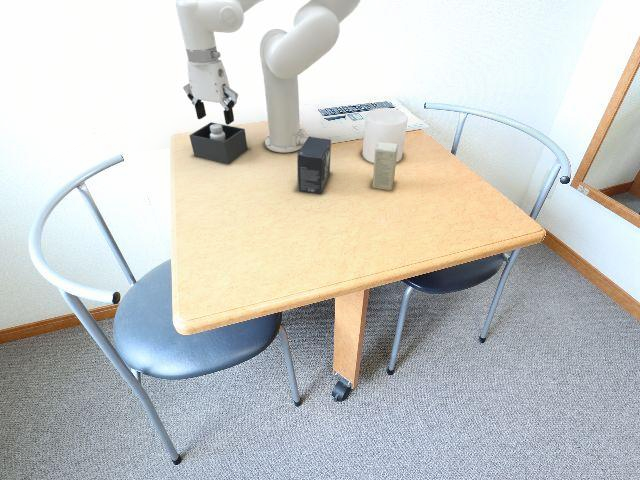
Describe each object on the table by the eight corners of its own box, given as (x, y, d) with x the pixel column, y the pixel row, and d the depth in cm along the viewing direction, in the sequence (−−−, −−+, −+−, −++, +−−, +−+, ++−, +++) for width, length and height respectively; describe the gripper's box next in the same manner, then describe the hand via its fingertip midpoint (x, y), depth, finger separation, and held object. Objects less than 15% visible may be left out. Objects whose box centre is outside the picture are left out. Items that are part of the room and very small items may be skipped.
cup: (354, 153, 110) (356, 114, 102) (381, 142, 116) (385, 104, 108) (382, 168, 103) (387, 128, 95) (410, 156, 109) (417, 117, 101)
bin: (247, 149, 113) (244, 128, 108) (228, 164, 106) (224, 142, 101) (215, 142, 117) (211, 122, 112) (194, 156, 110) (189, 135, 105)
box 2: (394, 182, 98) (399, 144, 91) (390, 191, 95) (396, 151, 87) (374, 179, 99) (378, 141, 92) (371, 187, 96) (374, 148, 89)
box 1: (321, 194, 93) (321, 157, 87) (297, 191, 95) (295, 154, 88) (331, 173, 101) (331, 138, 95) (308, 171, 103) (307, 135, 96)
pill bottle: (231, 150, 111) (226, 125, 106) (219, 155, 109) (213, 130, 103) (222, 145, 113) (217, 121, 108) (210, 150, 111) (204, 126, 106)
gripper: (239, 54, 93) (248, 119, 104) (185, 48, 99) (199, 111, 110) (221, 62, 88) (233, 130, 99) (165, 55, 94) (183, 120, 105)
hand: (215, 120), depth 105 cm, fingers open, 9 cm apart
